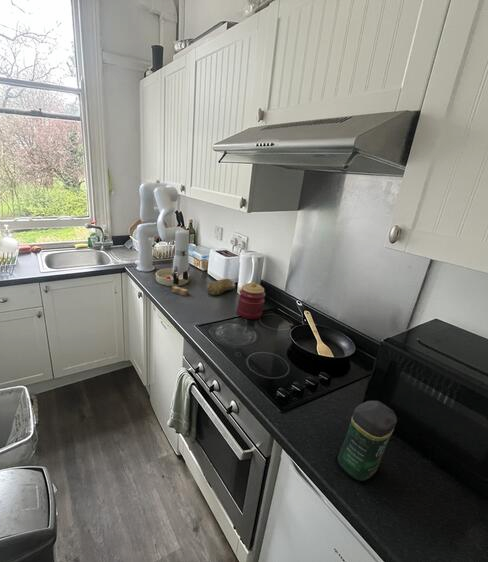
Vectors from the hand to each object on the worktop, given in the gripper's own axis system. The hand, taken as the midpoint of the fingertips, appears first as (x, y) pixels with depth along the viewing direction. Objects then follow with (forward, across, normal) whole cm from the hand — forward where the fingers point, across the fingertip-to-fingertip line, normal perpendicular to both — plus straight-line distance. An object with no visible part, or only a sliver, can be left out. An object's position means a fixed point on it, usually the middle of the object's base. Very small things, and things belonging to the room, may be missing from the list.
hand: (180, 281), depth 169 cm
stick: (+7, 0, 0) cm, 7 cm away
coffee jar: (+9, +64, +96) cm, 116 cm away
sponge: (+8, -16, +18) cm, 25 cm away
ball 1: (+5, -10, -15) cm, 19 cm away
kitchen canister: (+8, 0, +42) cm, 43 cm away
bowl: (+7, -14, -16) cm, 22 cm away
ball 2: (+5, -19, -15) cm, 25 cm away
